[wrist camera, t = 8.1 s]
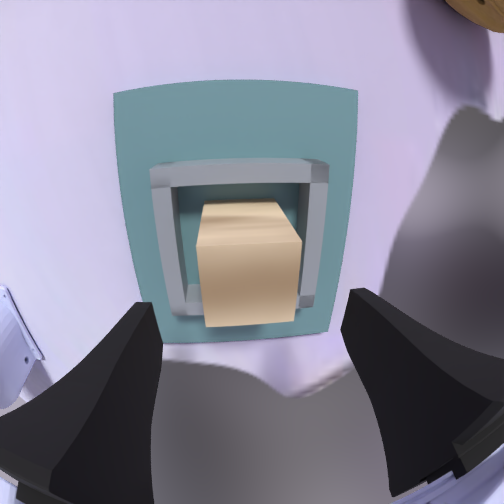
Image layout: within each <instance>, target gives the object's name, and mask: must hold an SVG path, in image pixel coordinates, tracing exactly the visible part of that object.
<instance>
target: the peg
mask: <svg viewBox="0 0 504 504" xmlns="http://www.w3.org/2000/svg"><path fill="white" fill-rule="evenodd" d="M196 250H197V260H198V269H199V278H200V286H201V294H202V302H203V310H204V317H205V324H206V327H222V326H240V325H254V324H267V323H279V322H289V321H294V316H295V308H296V299H297V290H298V281H299V271H300V260H301V250H302V240H301V239H300V237H299V236H298V234H297V233H296V231H295V230H294V228H293V226H292V225H291V223H290V222H289V220H288V219H287V217H286V216H285V214H284V213H283V211H282V210H281V208H280V207H279V205H278V204H277V202H276V201H275V199H274V198H264V199H232V200H211V201H204V206H203V211H202V217H201V222H200V228H199V233H198V239H197V245H196Z"/></svg>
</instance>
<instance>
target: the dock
mask: <svg viewBox="0 0 504 504" xmlns="http://www.w3.org/2000/svg"><path fill="white" fill-rule="evenodd" d="M113 96H114V127H115V143H116V155H117V166H118V175H119V183H120V191H121V198H122V205H123V212H124V218H125V224H126V229H127V235H128V240H129V245H130V250H131V255H132V259H133V264H134V268H135V273H136V277H137V281H138V285H139V289H140V293H141V297H142V301H143V302H152V305H153V309H154V312H155V316H156V320H157V324H158V327H159V331H160V334H161V338H162V341H163V343H199V342H224V341H241V340H255V339H267V338H278V337H288V336H297V335H306V334H314V333H321V332H328V328H329V324H330V320H331V315H332V311H333V306H334V302H335V297H336V292H337V287H338V282H339V276H340V271H341V265H342V260H343V254H344V247H345V241H346V234H347V228H348V220H349V213H350V205H351V196H352V187H353V177H354V166H355V153H356V137H357V114H358V91H357V90H352V89H346V88H340V87H334V86H327V85H319V84H311V83H301V82H289V81H273V80H210V81H195V82H183V83H173V84H165V85H157V86H150V87H144V88H138V89H132V90H127V91H122V92H117V93H113ZM264 198H274V199H275V201H276V202H277V204H278V205H279V207H280V208H281V210H282V211H283V213H284V214H285V216H286V217H287V219H288V220H289V222H290V223H291V225H292V226H293V228H294V230H295V231H296V233H297V234H298V236H299V237H300V239H301V240H302V250H301V260H300V271H299V281H298V290H297V299H296V308H295V316H294V321H289V322H279V323H267V324H254V325H240V326H222V327H206V324H205V317H204V310H203V302H202V294H201V286H200V278H199V269H198V260H197V250H196V245H197V239H198V233H199V228H200V222H201V217H202V211H203V206H204V201H211V200H232V199H264Z"/></svg>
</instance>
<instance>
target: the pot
mask: <svg viewBox="0 0 504 504" xmlns="http://www.w3.org/2000/svg"><path fill="white" fill-rule="evenodd" d="M445 1H446V2H447V3H448V4H449V5H450V6H451V7H452V8H453V9H455V10H456V11H457V12H458V13H459V14H461V15H462V16H464V17H465V18H467V19H468V20H470V21H472V22H473V23H475V24H477V25H480V26H482V27H484V28H486V29H489V30H491V31H493V32H498V33H504V0H445Z"/></svg>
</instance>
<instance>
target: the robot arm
mask: <svg viewBox="0 0 504 504" xmlns="http://www.w3.org/2000/svg"><path fill="white" fill-rule="evenodd" d="M340 330H341V333H342V336H343V340H344V343H345V346H346V348H347V351H348V354H349V356H350V358H351V360H352V362H353V364H354V366H355V368H356V370H357V372H358V374H359V376H360V379H361V381H362V383H363V385H364V387H365V389H366V391H367V393H368V395H369V398H370V400H371V403H372V405H373V409H374V412H375V415H376V418H377V421H378V425H379V428H380V433H381V437H382V441H383V445H384V451H385V455H386V461H387V468H388V477H389V490H390V492H391V495H392V497H395V496H398V495H400V494H402V493H404V492H406V491H408V490H410V489H412V488H414V487H416V486H418V485H420V484H422V483H424V482H426V481H427V483H428V485H427V486H425V487H423V488H421V489H419V490H417V491H415V492H414V493H412V494H410V495H407V496H405V497H403V498H401V499H399V500H397V501H395V502H392V503H390V504H504V359H501V358H497V357H494V356H490V355H487V354H483V353H480V352H477V351H475V350H472V349H470V348H467V347H465V346H462V345H460V344H458V343H455V342H453V341H451V340H449V339H447V338H445V337H443V336H441V335H439V334H437V333H436V332H434V331H432V330H430V329H429V328H427V327H425V326H423V325H422V324H420V323H419V322H417V321H415V320H414V319H412V318H411V317H409V316H408V315H406V314H405V313H403V312H402V311H400V310H399V309H397V308H396V307H394V306H392V305H391V304H390V303H388V302H387V301H385V300H384V299H382V298H381V297H379V296H378V295H376V294H374V293H373V292H371V291H369V290H368V289H366V288H357V289H350V293H349V298H348V302H347V306H346V310H345V314H344V318H343V322H342V326H341V329H340ZM162 352H163V341H162V338H161V334H160V331H159V327H158V324H157V320H156V316H155V312H154V309H153V305H152V302H136V303H135V304H134V305H133V306H132V307H131V308H130V309H129V310H128V311H127V313H126V314H125V315H124V316H123V317H122V318H121V319H120V320H119V322H118V323H117V324H116V325H115V326H114V327H113V328H112V329H111V331H110V332H109V333H108V334H107V335H106V336H105V337H104V338H103V339H102V341H101V342H100V343H99V344H98V345H97V346H96V347H95V348H94V349H93V350H92V351H91V352H90V353H89V354H88V355H87V356H86V357H85V358H84V359H83V360H82V361H81V362H80V363H79V364H78V365H77V366H75V367H74V368H73V369H72V370H71V371H70V372H69V373H67V374H66V375H65V376H64V377H63V378H61V379H60V380H59V381H58V382H56V383H55V384H54V385H52V386H51V387H50V388H48V389H47V390H45V391H44V392H43V393H41V394H40V395H39V396H37V397H35V398H34V399H32V400H31V401H29V402H27V403H26V404H24V405H22V406H21V407H19V408H17V409H15V410H13V411H11V412H10V413H7V414H5V415H3V416H1V417H0V470H2V471H3V472H5V473H6V474H8V475H9V476H11V477H13V478H14V479H16V480H18V481H19V482H18V487H17V486H15V485H13V484H12V483H10V482H8V481H7V480H5V479H3V478H2V477H0V504H154V499H153V490H152V477H151V451H150V450H151V424H152V416H153V410H154V404H155V398H156V393H157V388H158V382H159V377H160V372H161V364H162ZM36 359H38V360H41V359H42V355H41V353H40V351H39V350H38V348H37V347H36V345H35V343H34V341H33V340H32V338H31V336H30V334H29V333H28V331H27V329H26V327H25V325H24V323H23V321H22V319H21V318H20V316H19V314H18V311H17V309H16V307H15V305H14V303H13V301H12V299H11V297H10V294H9V292H8V290H7V288H6V287H4V286H0V409H4V408H7V407H9V406H10V405H12V404H13V403H14V402H15V401H16V399H17V398H18V396H19V394H20V392H21V390H22V387H23V385H24V383H25V381H26V379H27V377H28V375H29V372H30V370H31V368H32V366H33V364H34V362H35V360H36Z"/></svg>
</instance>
